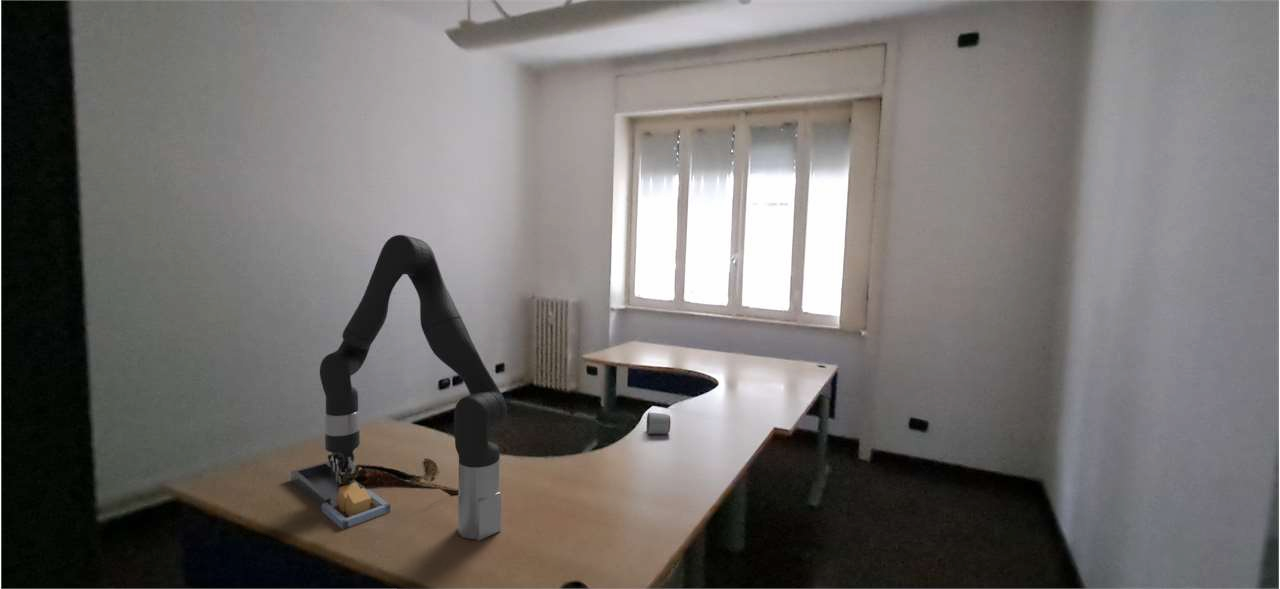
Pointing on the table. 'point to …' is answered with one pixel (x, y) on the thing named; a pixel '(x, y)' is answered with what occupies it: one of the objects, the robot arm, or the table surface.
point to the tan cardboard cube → (345, 494)
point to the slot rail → (318, 483)
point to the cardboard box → (357, 502)
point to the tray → (343, 522)
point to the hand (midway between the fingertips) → (343, 495)
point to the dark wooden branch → (393, 477)
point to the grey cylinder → (658, 423)
